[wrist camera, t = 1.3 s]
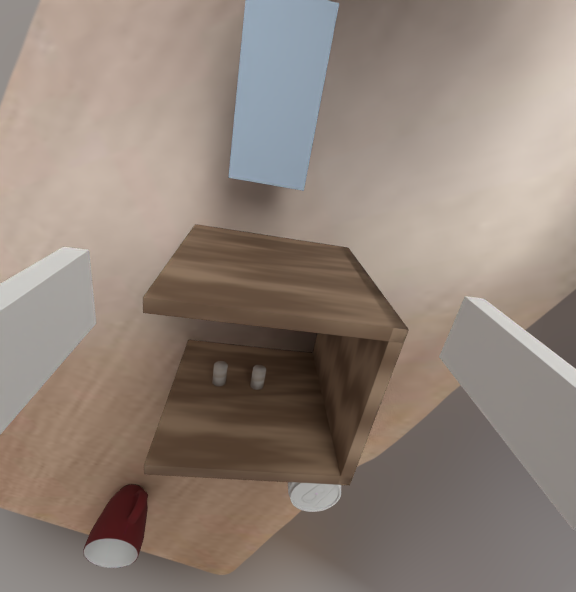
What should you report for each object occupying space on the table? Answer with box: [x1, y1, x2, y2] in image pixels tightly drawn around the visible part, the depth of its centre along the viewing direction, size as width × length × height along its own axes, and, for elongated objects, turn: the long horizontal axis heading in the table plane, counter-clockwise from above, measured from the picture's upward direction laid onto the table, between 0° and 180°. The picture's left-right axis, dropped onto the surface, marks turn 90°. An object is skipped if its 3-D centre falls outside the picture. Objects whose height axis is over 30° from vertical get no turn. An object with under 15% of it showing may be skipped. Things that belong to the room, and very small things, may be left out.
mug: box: [83, 485, 148, 568], centre depth 56 cm, size 10×8×10 cm
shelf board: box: [228, 0, 339, 191], centre depth 30 cm, size 14×7×2 cm, turn 170°
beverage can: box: [288, 482, 341, 512], centre depth 48 cm, size 6×7×15 cm
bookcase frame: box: [143, 224, 409, 485], centre depth 37 cm, size 18×19×20 cm
